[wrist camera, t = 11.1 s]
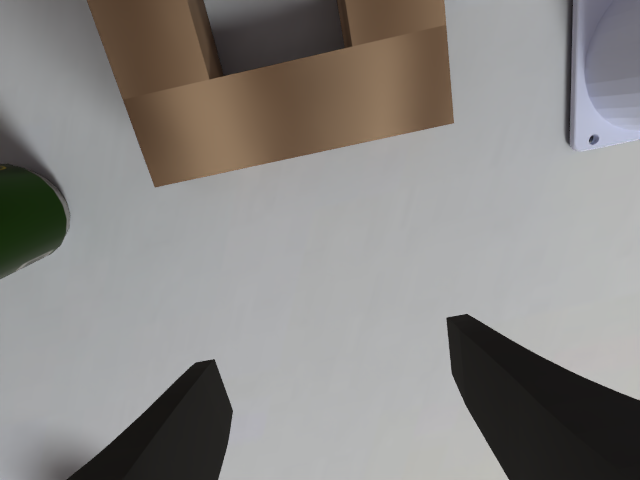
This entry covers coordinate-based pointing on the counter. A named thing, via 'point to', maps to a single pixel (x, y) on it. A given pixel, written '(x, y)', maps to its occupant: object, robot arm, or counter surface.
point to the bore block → (272, 85)
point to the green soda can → (29, 218)
